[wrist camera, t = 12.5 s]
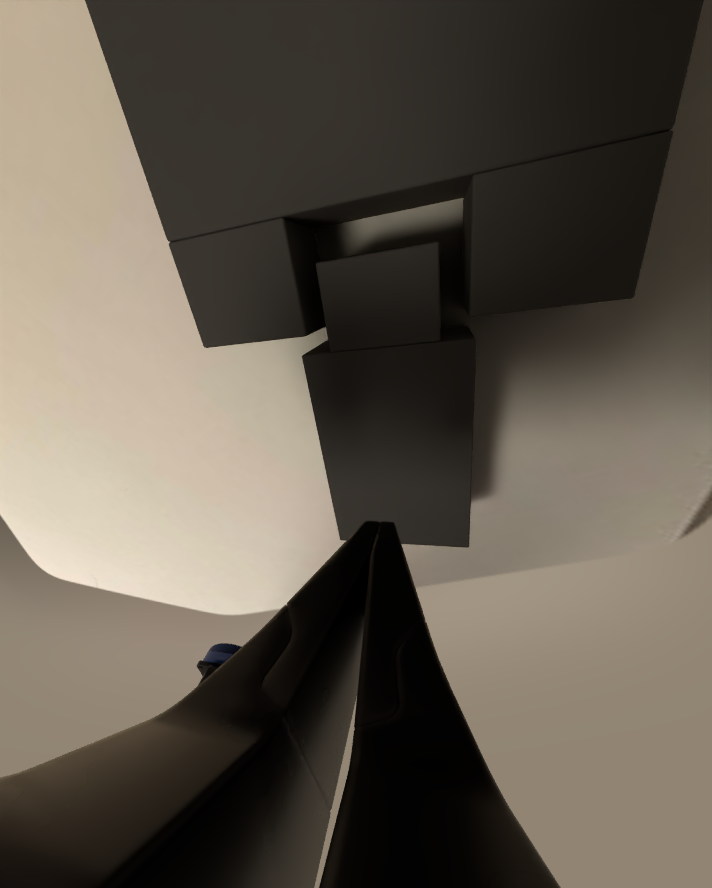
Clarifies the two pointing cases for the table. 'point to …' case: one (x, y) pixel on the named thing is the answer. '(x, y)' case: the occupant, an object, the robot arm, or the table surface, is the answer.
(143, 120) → the large black pad
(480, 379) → the table surface
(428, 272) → the small black block
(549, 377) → the table surface
